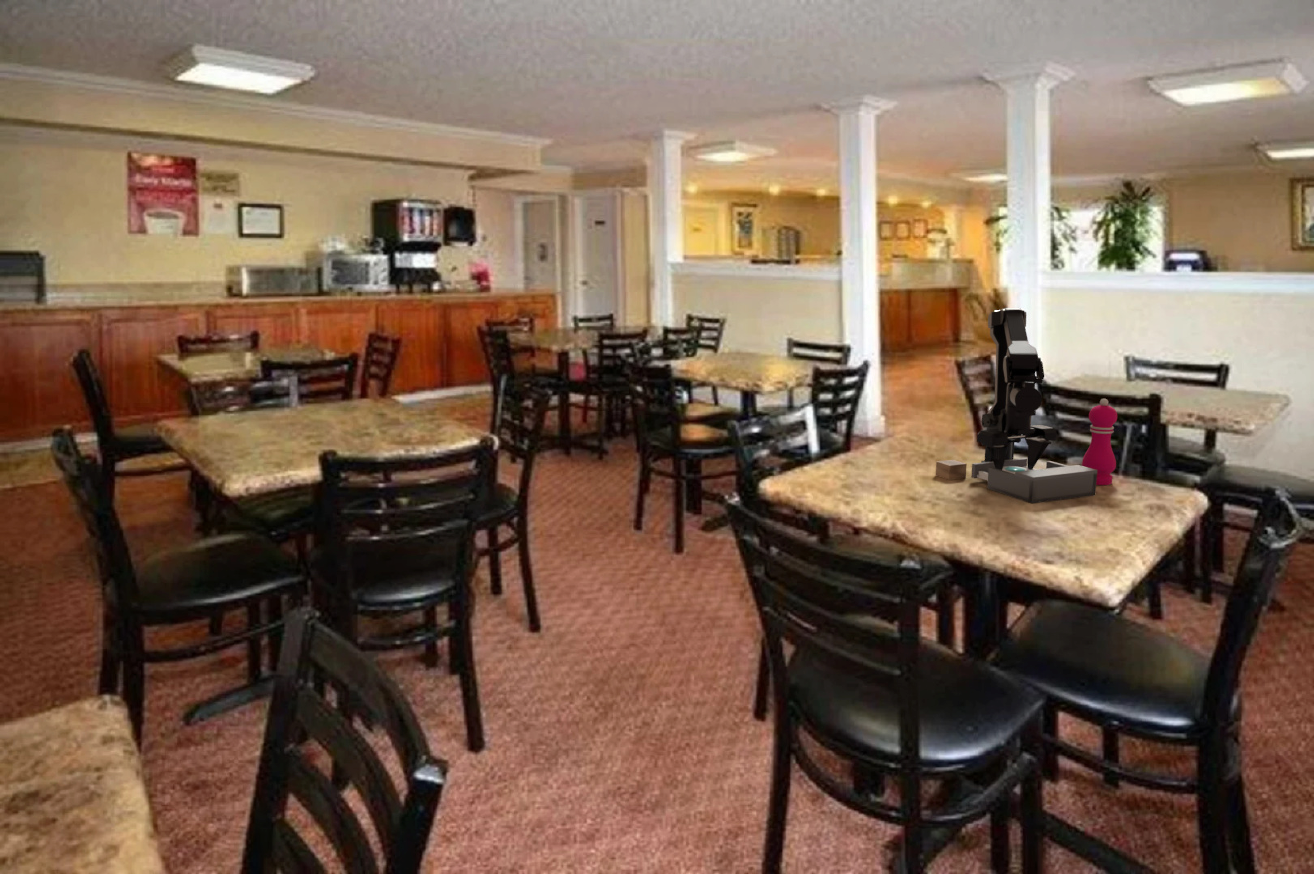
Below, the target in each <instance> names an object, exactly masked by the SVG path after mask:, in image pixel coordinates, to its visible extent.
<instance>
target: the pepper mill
mask: <svg viewBox="0 0 1314 874" xmlns="http://www.w3.org/2000/svg"><path fill="white" fill-rule="evenodd" d="M1099 404H1100V405H1096V406H1093V407H1092V408H1091V410H1089V413H1088V419H1089V420H1088V421H1090V423H1091V424H1090V426H1089V427H1090V429H1089V431H1090V432H1091V439H1090V444H1089V447H1088V449H1087V450H1086V451H1085V454H1084V455H1083V457H1082V461H1081V466H1084V467H1088V468H1092V469H1096V470H1097V481H1096V486H1109V485H1112V483H1113V475H1112V474H1111V473H1113V472H1114V471H1115V469H1116V468H1117V460H1116V457H1115V454H1114V452H1113V448H1112V443H1111V439H1112V438H1111V437H1112V434H1113V433H1114V432H1115V431H1114V429H1115V427H1114V426H1113V425H1114V424H1116V422H1117V420H1118V412H1117V410H1116V409H1115V408H1113V407H1112V406H1111V405H1109V400H1108V399H1106V398H1101V399H1100V401H1099Z"/></svg>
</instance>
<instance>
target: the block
mask: <svg viewBox="0 0 1314 874" xmlns="http://www.w3.org/2000/svg"><path fill="white" fill-rule="evenodd" d="M935 476H937V477H940V478H943V479H945V480H948V481H949V480H959V479H966V478H967V463H965V462H963V461H962V462H961V461H959V460H955V459H947V460H938V461H937V460H936V462H935Z"/></svg>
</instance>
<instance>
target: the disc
mask: <svg viewBox="0 0 1314 874" xmlns="http://www.w3.org/2000/svg"><path fill="white" fill-rule="evenodd" d="M1002 470H1003V471H1006V472H1010V473H1013V474H1015V472H1020V471H1029V470H1030V469H1027V468H1023V467H1016V466H1005V467H1003V469H1002Z"/></svg>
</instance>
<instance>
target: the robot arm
mask: <svg viewBox="0 0 1314 874" xmlns="http://www.w3.org/2000/svg"><path fill="white" fill-rule="evenodd" d="M987 317H988V318H987V328H988V329H989V337H990V338H991V339H992V341H993V342H994V344H995V346H996V347H995V349H996V351H995V376H994V377H995V378H994V379H995V380H994V381H995V382H994V384H995V385H994V403H993V404H992V405H991V407H990V409H989V410H988V412H987V413H984V414H982V415H981V427H982V429H981V430H980V431H978V433H977V435H976V436H977V437H976V442H977V443H980V444H981V445H982V446H983V447H985V448H984V460H981V461H980V463H982V462H992V461H993V462H994V465H995V468H996V469H1000V470H1002V469H1003V465H1004V461H1005V460H1011V459H1014V456H1015V443H1016V444H1020V442H1022V440H1024V441H1025V443H1026V444H1027V467H1028V469H1030V470H1032V469H1033V468H1035V466H1036V464H1037V463H1038V461H1039V459H1040V458H1041V456H1042V455H1043V453H1044V452H1045V451H1046V449H1047V448H1048V446H1049V445H1051V444H1052V443H1053V441H1056V440H1057V431H1056V429H1055V427H1051V426H1047V425H1042V424H1035V425H1032V416H1033V417H1034V416H1036V415H1037V414H1036V413H1037V410H1038V409H1039V408H1040V407H1041V405H1042V402H1043V396H1042V394H1041V392H1040V391H1039V390H1038V389H1037V388H1036V384H1043V380H1044V379H1045V370H1044V363H1043V361H1042V359H1041V356H1039V355H1038V352H1037V348H1036V347H1035V346H1033V345H1032V344H1030V342H1029V338H1028V333H1027V330H1026V327H1027V311H1025V309H1024V308H1022V307H1005V308H1002V309H999V310H997V309H995V310H993V311H991V312H990V313H989V314H988V316H987Z"/></svg>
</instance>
